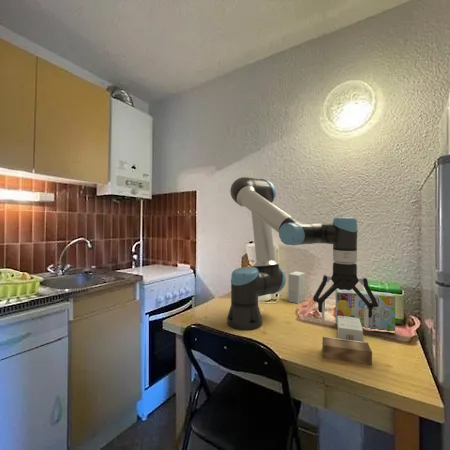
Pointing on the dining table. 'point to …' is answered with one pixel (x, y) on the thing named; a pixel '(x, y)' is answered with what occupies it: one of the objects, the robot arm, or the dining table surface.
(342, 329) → the small box
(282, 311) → the dining table surface
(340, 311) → the snack box
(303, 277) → the skincare box
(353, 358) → the walnut step
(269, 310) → the dining table surface
